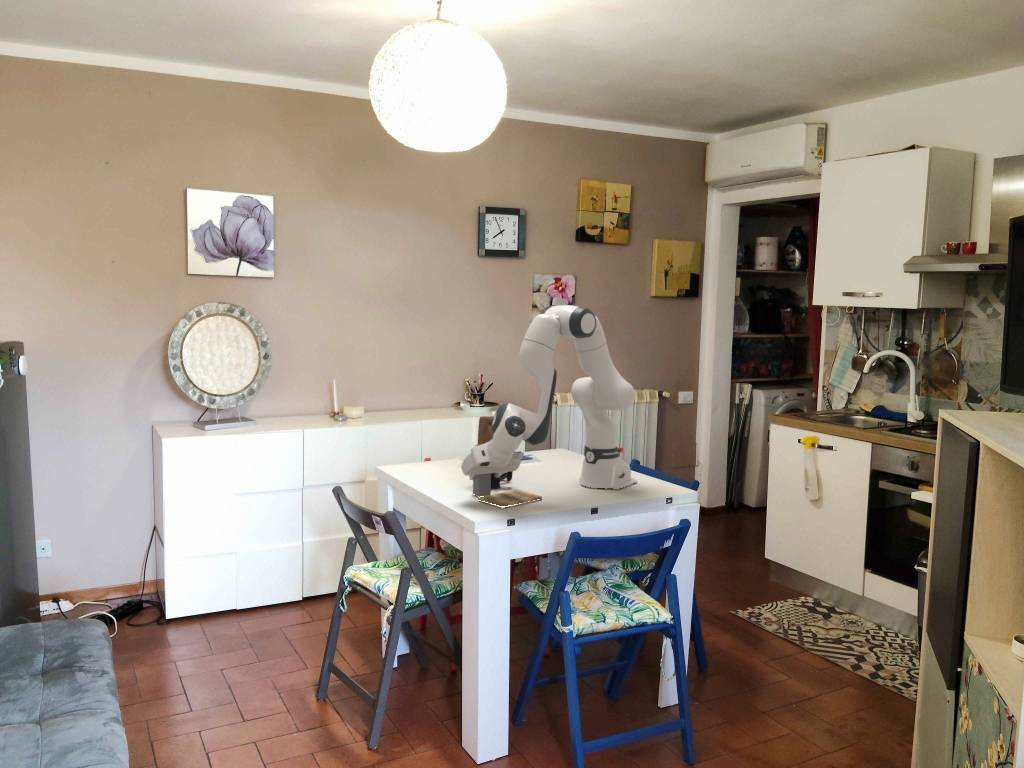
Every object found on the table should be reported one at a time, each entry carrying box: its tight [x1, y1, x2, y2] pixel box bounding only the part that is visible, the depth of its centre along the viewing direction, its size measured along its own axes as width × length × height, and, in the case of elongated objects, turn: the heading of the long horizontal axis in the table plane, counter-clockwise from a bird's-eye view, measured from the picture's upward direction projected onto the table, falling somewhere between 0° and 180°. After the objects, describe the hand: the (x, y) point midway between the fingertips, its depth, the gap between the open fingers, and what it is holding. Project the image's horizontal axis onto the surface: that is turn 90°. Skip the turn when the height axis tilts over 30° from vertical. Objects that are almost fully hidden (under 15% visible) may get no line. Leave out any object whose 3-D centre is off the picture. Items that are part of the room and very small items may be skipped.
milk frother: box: [474, 444, 514, 490], centre depth 295 cm, size 14×16×15 cm
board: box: [477, 489, 543, 506], centre depth 273 cm, size 18×12×1 cm, turn 134°
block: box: [477, 415, 494, 445], centre depth 325 cm, size 11×8×20 cm
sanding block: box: [472, 473, 492, 497], centre depth 279 cm, size 4×4×9 cm
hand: (484, 477), depth 277 cm, fingers open, 8 cm apart
